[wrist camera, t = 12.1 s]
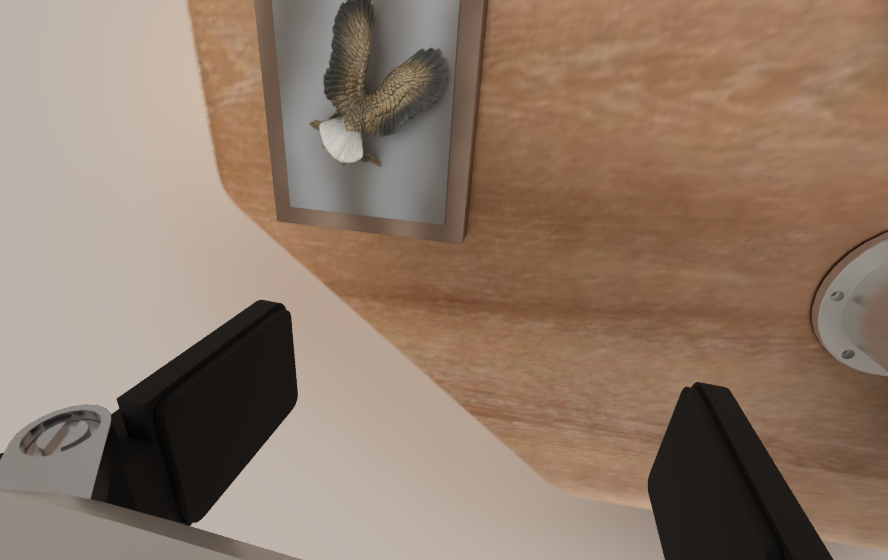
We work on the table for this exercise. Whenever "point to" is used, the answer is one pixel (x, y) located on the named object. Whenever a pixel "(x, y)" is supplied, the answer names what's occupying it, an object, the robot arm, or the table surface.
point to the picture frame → (401, 154)
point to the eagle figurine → (380, 107)
